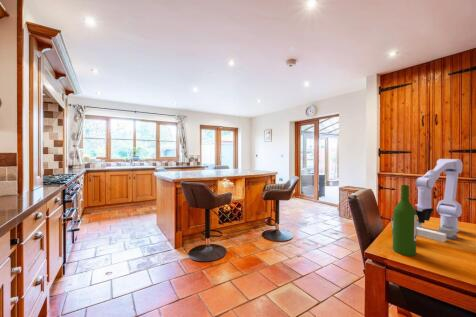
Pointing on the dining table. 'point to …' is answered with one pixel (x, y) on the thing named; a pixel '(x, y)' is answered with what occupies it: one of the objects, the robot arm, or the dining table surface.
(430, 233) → the rail
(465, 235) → the dining table surface
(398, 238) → the wine bottle
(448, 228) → the stand
